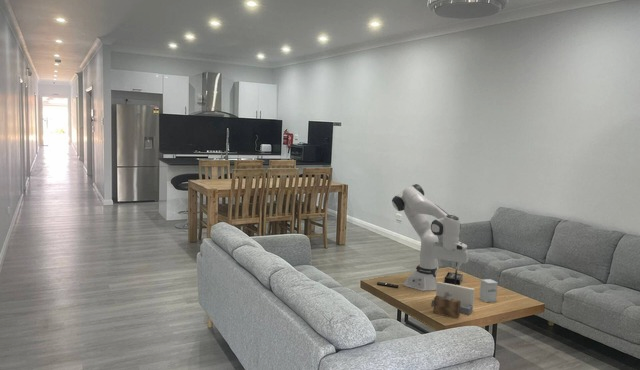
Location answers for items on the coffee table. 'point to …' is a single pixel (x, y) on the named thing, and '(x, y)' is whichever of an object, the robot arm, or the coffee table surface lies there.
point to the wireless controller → (453, 278)
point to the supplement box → (488, 290)
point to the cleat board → (457, 295)
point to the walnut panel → (447, 305)
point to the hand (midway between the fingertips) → (449, 268)
